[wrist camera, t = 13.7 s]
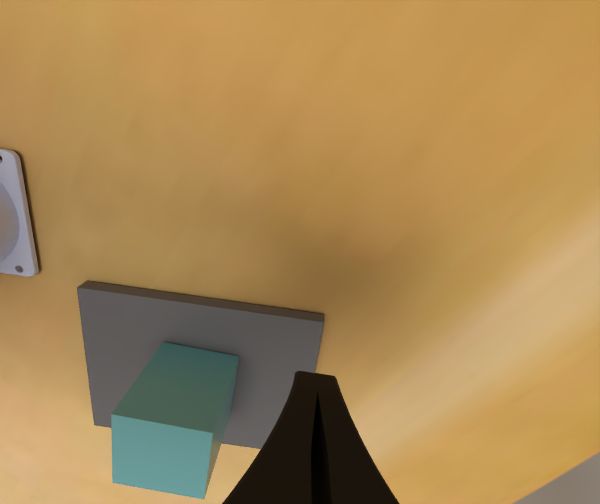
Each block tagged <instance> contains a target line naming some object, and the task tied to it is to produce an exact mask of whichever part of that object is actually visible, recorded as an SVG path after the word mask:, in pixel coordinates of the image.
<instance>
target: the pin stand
mask: <svg viewBox="0 0 600 504" xmlns="http://www.w3.org/2000/svg"><path fill="white" fill-rule="evenodd" d="M77 292H78V300H79V308H80V316H81V324H82V332H83V339H84V347H85V355H86V363H87V371H88V379H89V387H90V395H91V403H92V411H93V419H94V425H96V426H103V427H110V428H112V423H111V414H112V413H113V411H114V410H115V408H116V407H117V406H118V404H119V403H120V401H121V400H122V399H123V397H124V396H125V394H126V393H127V392H128V390H129V389H130V387H131V386H132V385H133V383H134V382H135V380H136V379H137V378H138V376H139V375H140V373H141V372H142V371H143V369H144V368H145V366H146V365H147V364H148V362H149V361H150V359H151V358H152V357H153V355H154V354H155V352H156V351H157V350H158V348H159V347H160V345H161V344H162V343H163V342H167V343H172V344H177V345H182V346H187V347H193V348H198V349H203V350H208V351H213V352H219V353H224V354H229V355H234V356H239V361H238V367H237V374H236V380H235V386H234V393H233V399H232V406H231V412H230V416H229V419H228V423H227V426H226V429H225V432H224V436H223V439H222V442H221V443H223V444H230V445H237V446H244V447H251V448H258V449H262V447H263V445H264V444H265V442H266V440H267V438H268V437H269V435H270V433H271V431H272V429H273V428H274V426H275V424H276V422H277V420H278V418H279V416H280V414H281V412H282V410H283V408H284V406H285V403H286V401H287V399H288V396H289V394H290V391H291V388H292V385H293V381H294V376H295V372H297V371H305V372H311V373H315V369H316V364H317V358H318V353H319V347H320V342H321V337H322V331H323V326H324V314H319V313H312V312H305V311H298V310H290V309H283V308H276V307H269V306H262V305H255V304H248V303H241V302H234V301H227V300H220V299H213V298H206V297H199V296H192V295H185V294H178V293H171V292H163V291H156V290H149V289H142V288H135V287H128V286H121V285H114V284H107V283H100V282H93V281H86V282H84V283H83V284H81V285H80V286H78V287H77Z"/></svg>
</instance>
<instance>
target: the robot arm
mask: <svg viewBox="0 0 600 504" xmlns="http://www.w3.org/2000/svg"><path fill="white" fill-rule="evenodd" d="M0 156H1V157H2V160H1V159H0V273H5V274H12V275H19V276H26V277H32V276H34V275H36V274H37V273H38V272H39V268H38V262H37V257H36V251H35V245H34V239H33V233H32V227H31V221H30V215H29V209H28V203H27V197H26V191H25V185H24V180H23V174H22V168H21V162H20V158H19V156H18V155H17V153H15V152H14V151H12V150H7V149H0ZM20 266H21V267H22V268H23V269H22V268H21V267H20ZM222 504H399V502H398V501H397V499H396V498H395V496H394V495H393V493H392V492H391V490H390V488H389V487H388V485H387V484H386V482H385V480H384V479H383V477H382V476H381V474H380V472H379V470H378V469H377V467H376V465H375V463H374V462H373V460H372V458H371V456H370V454H369V453H368V451H367V449H366V447H365V445H364V443H363V441H362V439H361V437H360V435H359V433H358V431H357V429H356V427H355V424H354V422H353V420H352V418H351V416H350V413H349V411H348V409H347V406H346V404H345V401H344V399H343V396H342V394H341V391H340V388H339V385H338V382H337V379H336V378H335V376H331V375H324V374H318V373H311V372H305V371H297V372H295V376H294V381H293V385H292V388H291V391H290V394H289V396H288V399H287V401H286V403H285V406H284V408H283V410H282V412H281V414H280V416H279V418H278V420H277V422H276V424H275V426H274V428H273V429H272V431H271V433H270V435H269V437H268V438H267V440H266V442H265V444H264V445H263V447H262V449H261V450H260V452H259V453H258V455H257V456H256V458H255V459H254V461H253V462H252V464H251V465H250V467H249V468H248V470H247V471H246V473H245V474H244V475H243V477H242V478H241V480H240V481H239V482H238V484H237V485H236V486H235V488H234V489H233V490H232V492H231V493H230V494H229V496H228V497H227V498H226V499H225V501H224V502H223V503H222Z"/></svg>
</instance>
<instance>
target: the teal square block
mask: <svg viewBox="0 0 600 504" xmlns="http://www.w3.org/2000/svg"><path fill="white" fill-rule="evenodd" d="M238 361H239V356H234V355H229V354H224V353H219V352H213V351H208V350H203V349H198V348H193V347H187V346H182V345H177V344H172V343H167V342H163V343H162V344H161V345H160V347H159V348H158V350H157V351H156V352H155V354H154V355H153V357H152V358H151V359H150V361H149V362H148V364H147V365H146V366H145V368H144V369H143V371H142V372H141V373H140V375H139V376H138V378H137V379H136V380H135V382H134V383H133V385H132V386H131V387H130V389H129V390H128V392H127V393H126V394H125V396H124V397H123V399H122V400H121V401H120V403H119V404H118V406H117V407H116V408H115V410H114V411H113V413H112V414H111V423H112V476H113V483H117V484H123V485H128V486H134V487H139V488H145V489H150V490H156V491H161V492H167V493H172V494H178V495H183V496H189V497H194V498H200V499H204V498H205V495H206V491H207V488H208V485H209V482H210V478H211V475H212V472H213V469H214V465H215V462H216V459H217V455H218V452H219V449H220V446H221V442H222V439H223V436H224V432H225V429H226V426H227V423H228V419H229V416H230V412H231V406H232V399H233V393H234V386H235V380H236V374H237V367H238Z"/></svg>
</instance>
